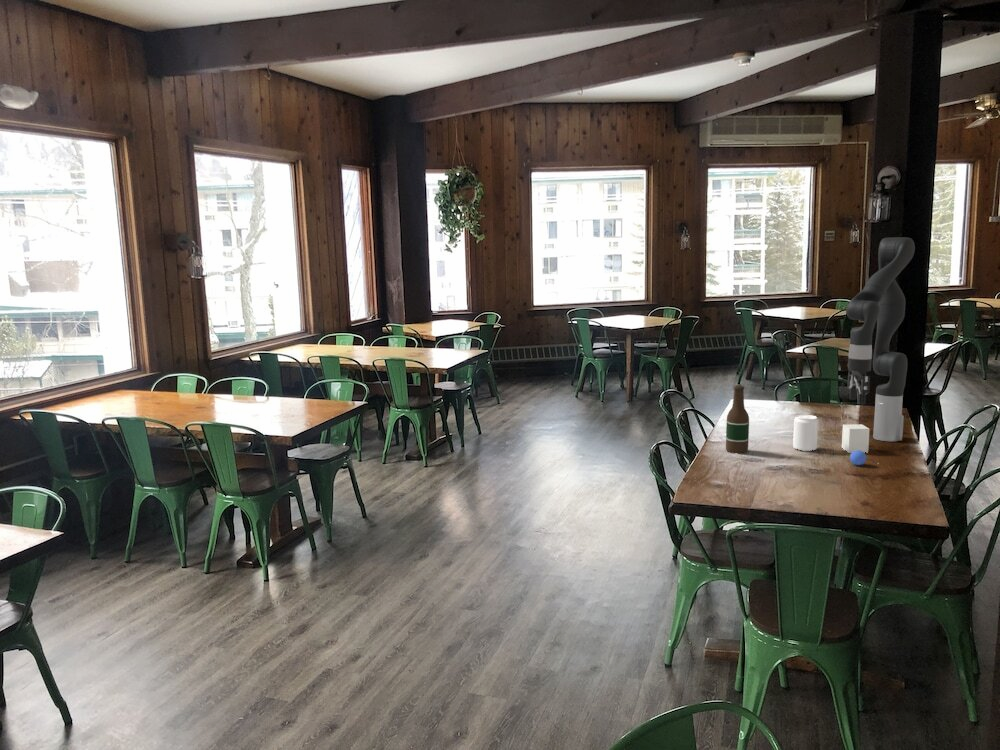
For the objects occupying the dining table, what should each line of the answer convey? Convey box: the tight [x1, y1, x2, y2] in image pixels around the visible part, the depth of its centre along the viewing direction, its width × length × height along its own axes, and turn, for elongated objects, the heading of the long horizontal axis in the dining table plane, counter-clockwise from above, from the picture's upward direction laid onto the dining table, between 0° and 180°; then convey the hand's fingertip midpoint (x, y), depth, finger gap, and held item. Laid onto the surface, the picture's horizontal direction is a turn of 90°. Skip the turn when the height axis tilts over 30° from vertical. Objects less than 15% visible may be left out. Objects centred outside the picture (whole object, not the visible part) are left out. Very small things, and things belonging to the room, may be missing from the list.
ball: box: [849, 450, 867, 466], centre depth 272 cm, size 5×5×5 cm
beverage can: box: [792, 414, 819, 452], centre depth 293 cm, size 8×8×12 cm
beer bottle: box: [725, 385, 750, 454], centre depth 290 cm, size 8×8×24 cm
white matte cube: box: [841, 423, 870, 454], centre depth 290 cm, size 7×7×9 cm
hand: (857, 402), depth 288 cm, fingers open, 8 cm apart
